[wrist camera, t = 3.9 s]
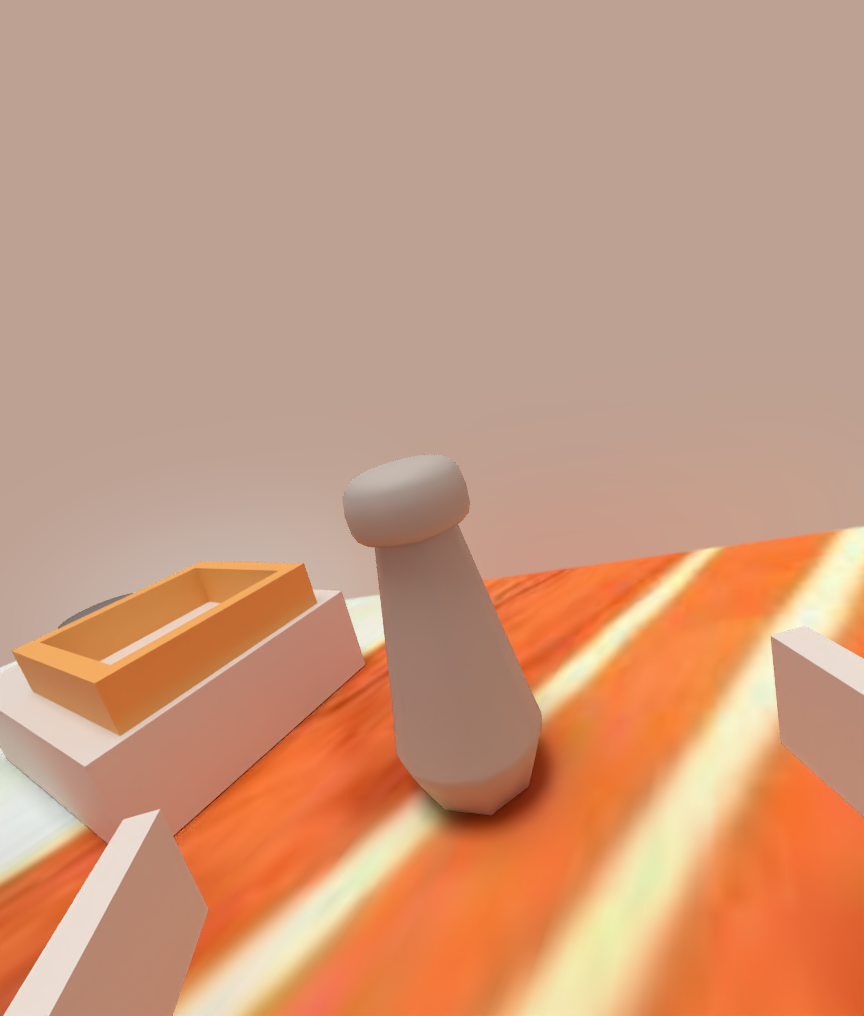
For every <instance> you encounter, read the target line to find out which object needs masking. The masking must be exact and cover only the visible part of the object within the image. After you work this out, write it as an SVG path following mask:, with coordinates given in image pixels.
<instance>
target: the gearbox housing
mask: <svg viewBox="0 0 864 1016" xmlns="http://www.w3.org/2000/svg"><path fill="white" fill-rule="evenodd" d="M12 653H13V655H14V657H15V659H16V660H17V662H18V665H16V666H14V667H12V668H10V669H8V670H6V671H4V672H2V673H0V748H1V749H2V751H3V753H4V755H5V757H6V758H7V759H8V760H9V761H10V762H11V763H13V764H14V765H15V766H16V767H17V768H18V769H20V770H21V771H22V772H23V773H24V774H26V775H27V776H28V777H29V778H30V779H31V780H33V781H34V782H35V783H36V784H37V785H39V786H40V787H41V788H42V789H43V790H45V791H46V792H47V793H48V794H49V795H50V796H52V797H53V798H54V799H55V800H56V801H58V802H59V803H60V804H61V805H62V806H63V807H65V808H66V809H67V810H68V811H69V812H71V813H72V814H73V815H74V816H75V817H77V818H78V819H79V820H80V821H81V822H82V823H84V824H85V825H86V826H87V827H88V828H90V829H91V830H92V831H93V832H94V833H95V834H97V835H98V836H99V837H100V838H101V839H103V840H104V841H105V842H106V843H107V844H109V842H110V840H111V839H112V837H113V836H114V834H115V832H116V831H117V829H118V827H119V826H120V824H121V822H122V821H123V819H127V818H130V817H134V816H137V815H141V814H144V813H148V812H151V811H155V810H158V809H161V811H162V814H163V816H164V818H165V820H166V822H167V824H168V826H169V828H170V830H171V832H172V834H173V836H174V835H175V834H176V833H177V832H178V831H180V830H181V829H182V828H183V827H184V826H185V825H186V824H187V823H189V822H190V821H191V820H192V819H193V818H194V817H195V816H196V815H198V814H199V813H200V812H201V811H202V810H203V809H204V808H205V807H206V806H208V805H209V804H210V803H211V802H212V801H213V800H214V799H215V798H217V797H218V796H219V795H220V794H221V793H222V792H223V791H224V790H226V789H227V788H228V787H229V786H230V785H231V784H232V783H233V782H234V781H236V780H237V779H238V778H239V777H240V776H241V775H242V774H243V773H245V772H246V771H247V770H248V769H249V768H250V767H251V766H252V765H253V764H255V763H256V762H257V761H258V760H259V759H260V758H261V757H262V756H264V755H265V754H266V753H267V752H268V751H269V750H270V749H271V748H273V747H274V746H275V745H276V744H277V743H278V742H279V741H280V740H281V739H283V738H284V737H285V736H286V735H287V734H288V733H289V732H290V731H292V730H293V729H294V728H295V727H296V726H297V725H298V724H299V723H301V722H302V721H303V720H304V719H305V718H306V717H307V716H308V715H309V714H311V713H312V712H313V711H314V710H315V709H316V708H317V707H318V706H320V705H321V704H322V703H323V702H324V701H325V700H326V699H327V698H328V697H330V696H331V695H332V694H333V693H334V692H335V691H336V690H337V689H339V688H340V687H341V686H342V685H343V684H344V683H345V682H346V681H348V680H349V679H350V678H351V677H352V676H353V675H354V674H355V673H356V672H358V671H359V670H360V669H361V668H362V667H363V666H364V665H365V662H364V659H363V656H362V653H361V650H360V647H359V644H358V641H357V637H356V634H355V631H354V628H353V625H352V622H351V619H350V616H349V613H348V610H347V607H346V604H345V601H344V597H343V595H342V592H341V591H329V590H315V589H312V586H311V583H310V580H309V577H308V575H307V572H306V568H305V565H304V563H259V562H258V563H257V562H256V563H255V562H199V563H197V564H195V565H193V566H191V567H188V568H186V569H184V570H182V571H180V572H178V573H176V574H173V575H171V576H169V577H167V578H165V579H163V580H161V581H159V582H157V583H155V584H152V585H150V586H148V587H146V588H144V589H142V590H140V591H137V592H136V593H131V594H126V595H123V596H119V597H116V598H113V599H110V600H107V601H104V602H102V603H99V604H97V605H94V606H92V607H90V608H88V609H85V610H83V611H81V612H79V613H78V614H76V615H74V616H72V617H71V618H69V619H67V620H66V621H65V622H63V623H62V624H61V625H60V626H59V627H58V629H57V630H55V631H53V632H50V633H48V634H46V635H44V636H42V637H40V638H38V639H36V640H33V641H32V642H29V643H27V644H25V645H23V646H21V647H19V648H17V649H14V650H12Z"/></svg>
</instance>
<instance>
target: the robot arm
mask: <svg viewBox="0 0 864 1016" xmlns="http://www.w3.org/2000/svg"><path fill="white" fill-rule="evenodd" d="M771 644H772V654H773V665H774V675H775V686H776V697H777V707H778V718H779V728H780V739H781V744H782V745H783V746H784V747H785V748H787V749H788V750H789V751H790V752H791V753H792V754H793V755H794V756H796V757H797V758H798V759H799V760H800V761H801V762H802V763H803V764H804V765H806V766H807V767H808V768H809V769H810V770H811V771H812V772H813V773H815V774H816V775H817V776H818V777H819V778H820V779H821V780H822V781H823V782H825V783H826V784H827V785H828V786H829V787H830V788H831V789H832V790H833V791H835V792H836V793H837V794H838V795H839V796H840V797H841V798H842V799H844V800H845V801H846V802H847V803H848V804H849V805H850V806H851V807H852V808H854V809H855V810H856V811H857V812H858V813H859V814H860V815H861V816H863V817H864V659H863V658H861V657H859V656H858V655H856V654H854V653H852V652H851V651H849V650H847V649H845V648H843V647H842V646H840V645H838V644H836V643H835V642H833V641H831V640H829V639H827V638H826V637H824V636H822V635H820V634H819V633H817V632H815V631H813V630H811V629H810V628H808V627H806V626H803V627H799V628H796V629H792V630H789V631H785V632H782V633H778V634H775V635H771ZM208 910H209V909H208V907H207V905H206V903H205V901H204V899H203V897H202V895H201V893H200V891H199V889H198V887H197V884H196V882H195V880H194V878H193V876H192V874H191V872H190V870H189V868H188V866H187V864H186V862H185V859H184V857H183V855H182V853H181V851H180V849H179V847H178V845H177V843H176V841H175V839H174V837H173V834H172V832H171V830H170V828H169V826H168V824H167V822H166V820H165V818H164V816H163V814H162V811H161V809H158V810H155V811H151V812H148V813H144V814H141V815H137V816H134V817H130V818H127V819H123V821H122V822H121V824H120V826H119V827H118V829H117V831H116V832H115V834H114V836H113V837H112V839H111V840H110V842H109V844H108V845H107V847H106V849H105V850H104V852H103V854H102V855H101V857H100V858H99V860H98V862H97V863H96V865H95V867H94V868H93V870H92V872H91V873H90V875H89V876H88V878H87V880H86V881H85V883H84V885H83V886H82V888H81V890H80V891H79V893H78V894H77V896H76V898H75V899H74V901H73V903H72V904H71V906H70V908H69V909H68V911H67V912H66V914H65V916H64V917H63V919H62V921H61V922H60V924H59V926H58V927H57V929H56V930H55V932H54V934H53V935H52V937H51V939H50V940H49V942H48V944H47V945H46V947H45V948H44V950H43V952H42V953H41V955H40V957H39V958H38V960H37V962H36V963H35V965H34V966H33V968H32V970H31V971H30V973H29V975H28V976H27V978H26V980H25V981H24V983H23V984H22V986H21V988H20V989H19V991H18V993H17V994H16V996H15V998H14V999H13V1001H12V1002H11V1004H10V1006H9V1007H8V1009H7V1011H6V1012H5V1014H4V1016H172V1015H173V1012H174V1009H175V1006H176V1003H177V1001H178V998H179V995H180V992H181V989H182V986H183V983H184V980H185V977H186V974H187V971H188V968H189V965H190V962H191V959H192V957H193V954H194V951H195V948H196V945H197V942H198V939H199V936H200V933H201V930H202V927H203V924H204V921H205V918H206V916H207V913H208Z"/></svg>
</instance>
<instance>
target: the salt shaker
mask: <svg viewBox="0 0 864 1016" xmlns="http://www.w3.org/2000/svg"><path fill="white" fill-rule="evenodd" d="M469 504H470V501H469V496H468V491H467V486H466V483H465V480H464V478H463V476H462V473H461V471H460V469H459V467H458V465H457V464H456V463H455V462H454V461H452V460H451V459H449V458H447V457H446V456H444V455H420V456H413V457H408V458H404V459H399V460H395V461H392V462H389V463H386V464H382V465H380V466H377V467H374V468H372V469H369V470H368V471H366V472H364V473H363V474H361V475H359V476H358V477H356V478H354V479H353V480H351V482H350V483H349V485H348V487H347V489H346V491H345V492H344V495H343V505H344V513H345V518H346V521H347V524H348V526H349V529H350V531H351V534H352V535H353V537H354V538H355V539H356V540H357V542H358V543H361V544H363V545H365V546H368V547H375V554H376V563H377V572H378V581H379V590H380V599H381V608H382V617H383V626H384V635H385V644H386V653H387V662H388V670H389V679H390V688H391V699H392V710H393V721H394V732H395V743H396V753H397V755H398V757H399V759H400V761H401V762H402V764H403V766H404V767H405V768H406V769H407V771H408V772H409V773H410V774H411V776H412V777H413V778H414V779H415V781H416V782H417V783H418V784H419V785H420V786H421V787H422V788H423V789H424V790H425V791H426V792H427V793H428V794H429V795H430V796H431V797H432V798H433V799H435V800H436V801H437V802H438V803H439V804H440V805H441V806H442V807H443V808H444V809H445V810H448V811H457V812H465V813H474V814H483V815H493V814H494V813H495V812H497V811H498V810H499V809H500V808H502V807H503V806H504V805H506V804H507V803H508V802H510V801H511V800H512V799H513V798H515V797H516V796H517V795H519V794H520V793H521V792H522V791H524V790H525V789H526V788H528V787H529V783H530V779H531V774H532V769H533V765H534V760H535V756H536V751H537V746H538V742H539V737H540V732H541V727H542V718H541V711H540V709H539V707H538V705H537V703H536V701H535V698H534V696H533V694H532V692H531V690H530V687H529V685H528V683H527V681H526V678H525V676H524V674H523V671H522V669H521V667H520V665H519V662H518V660H517V658H516V656H515V653H514V651H513V649H512V646H511V644H510V642H509V640H508V637H507V635H506V633H505V631H504V628H503V626H502V624H501V621H500V619H499V617H498V615H497V612H496V610H495V608H494V605H493V603H492V601H491V599H490V596H489V594H488V592H487V590H486V587H485V585H484V583H483V580H482V578H481V576H480V574H479V572H478V569H477V567H476V565H475V563H474V560H473V558H472V555H471V553H470V551H469V549H468V547H467V544H466V542H465V540H464V537H463V535H462V533H461V530H460V528H459V526H458V524H459V523H460V522H461V521H462V520H463V519H464V518H465V516H466V515H467V514H468V513H469Z"/></svg>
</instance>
